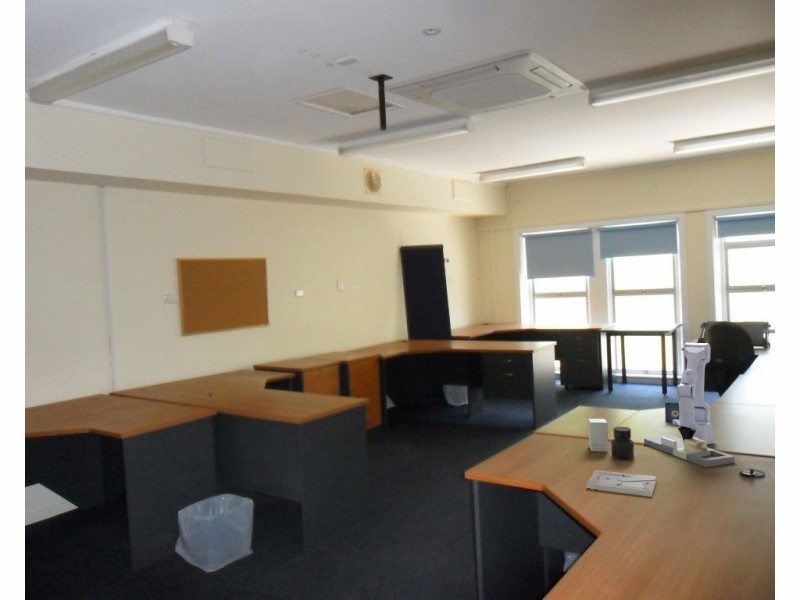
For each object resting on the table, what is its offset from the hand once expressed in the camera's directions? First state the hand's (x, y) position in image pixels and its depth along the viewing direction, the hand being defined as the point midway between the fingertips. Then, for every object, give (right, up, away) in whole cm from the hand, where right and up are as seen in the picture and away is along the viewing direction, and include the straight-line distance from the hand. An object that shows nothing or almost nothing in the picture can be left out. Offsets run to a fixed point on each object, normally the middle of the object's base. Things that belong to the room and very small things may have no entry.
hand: (687, 444), depth 252 cm
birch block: (+1, -1, -4) cm, 5 cm away
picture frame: (-40, -7, -33) cm, 52 cm away
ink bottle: (-28, -5, -1) cm, 28 cm away
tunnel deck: (0, -4, +1) cm, 4 cm away
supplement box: (-33, -5, +12) cm, 36 cm away
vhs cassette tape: (+22, -1, +49) cm, 54 cm away
